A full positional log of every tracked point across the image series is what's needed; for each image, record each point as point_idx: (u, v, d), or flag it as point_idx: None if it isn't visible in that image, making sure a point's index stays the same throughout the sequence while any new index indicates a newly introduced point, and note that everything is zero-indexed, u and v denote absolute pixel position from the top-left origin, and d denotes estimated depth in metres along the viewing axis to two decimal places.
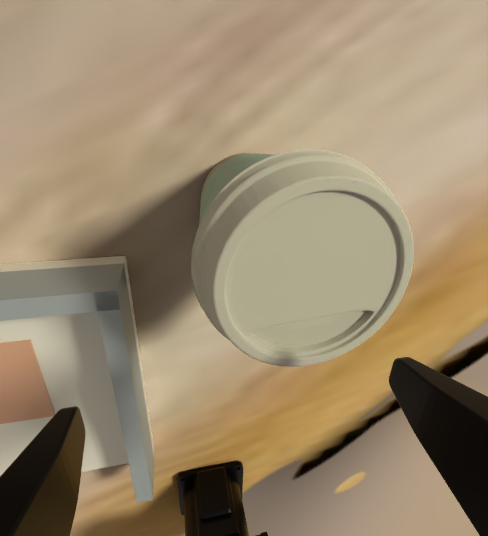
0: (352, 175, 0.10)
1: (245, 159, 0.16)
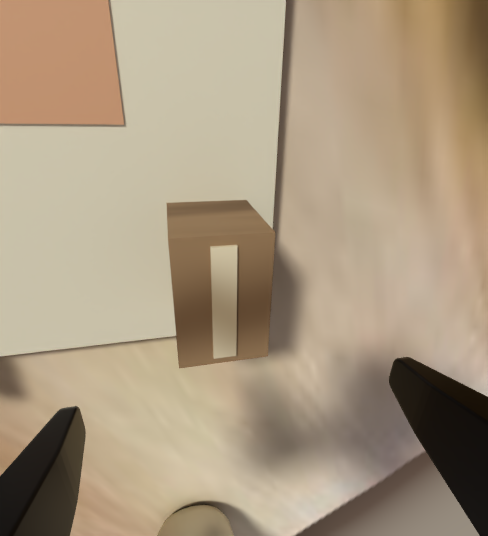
0: None
1: None
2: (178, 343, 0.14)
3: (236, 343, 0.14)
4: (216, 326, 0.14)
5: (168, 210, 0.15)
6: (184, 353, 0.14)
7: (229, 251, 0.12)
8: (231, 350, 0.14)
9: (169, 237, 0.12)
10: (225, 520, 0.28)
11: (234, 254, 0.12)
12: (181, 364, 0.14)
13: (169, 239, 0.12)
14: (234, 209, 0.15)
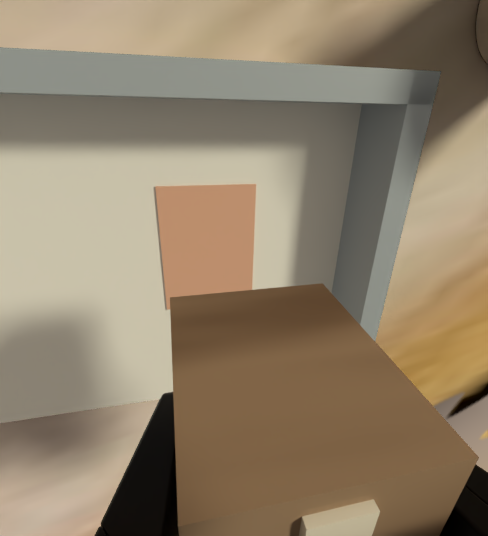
0: None
1: None
2: None
3: None
4: None
5: (174, 330, 0.07)
6: None
7: (355, 525, 0.04)
8: None
9: (182, 514, 0.04)
10: None
11: (368, 528, 0.04)
12: None
13: (183, 528, 0.04)
14: (314, 321, 0.07)
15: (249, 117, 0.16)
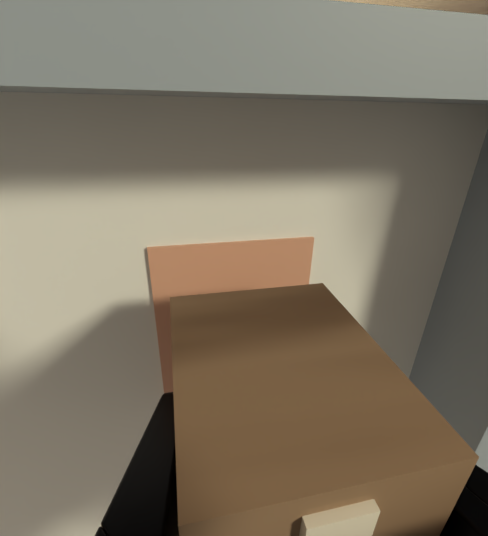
0: None
1: None
2: None
3: None
4: None
5: (174, 330, 0.07)
6: None
7: (356, 525, 0.04)
8: None
9: (183, 514, 0.04)
10: None
11: (368, 527, 0.04)
12: None
13: (183, 528, 0.04)
14: (314, 322, 0.07)
15: (310, 128, 0.09)
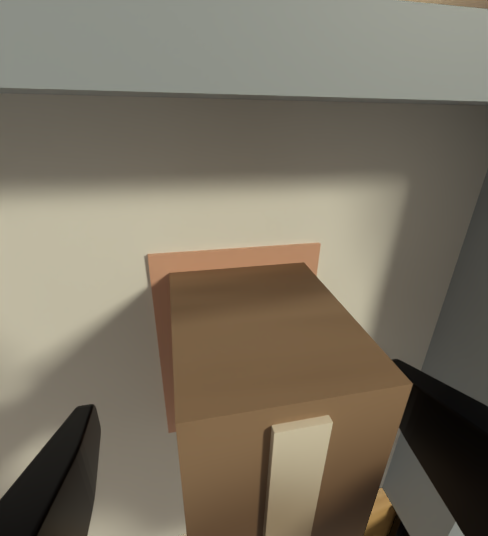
0: None
1: None
2: None
3: None
4: None
5: (173, 297, 0.08)
6: None
7: (314, 433, 0.05)
8: None
9: (178, 417, 0.05)
10: None
11: (324, 438, 0.06)
12: None
13: (179, 425, 0.05)
14: (293, 291, 0.08)
15: (318, 131, 0.09)
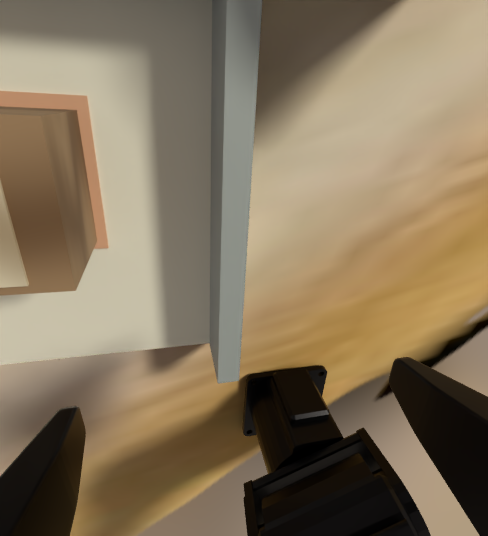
0: None
1: None
2: None
3: (23, 269, 0.12)
4: None
5: None
6: None
7: None
8: (18, 278, 0.12)
9: None
10: None
11: None
12: None
13: None
14: (40, 110, 0.13)
15: (62, 2, 0.13)
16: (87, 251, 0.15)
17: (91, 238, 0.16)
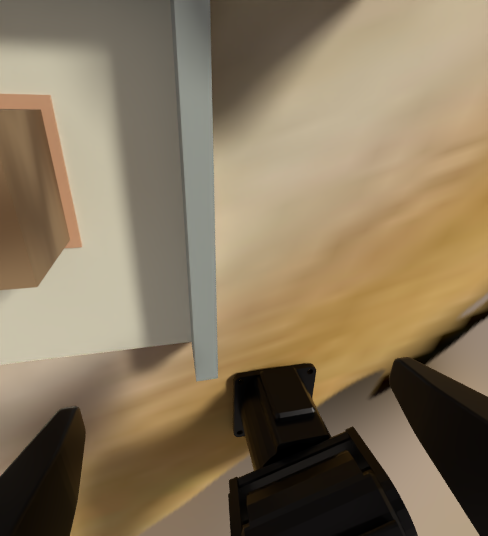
0: None
1: None
2: None
3: None
4: None
5: None
6: None
7: None
8: None
9: None
10: None
11: None
12: None
13: None
14: (0, 109, 0.13)
15: (19, 3, 0.13)
16: (55, 249, 0.15)
17: (61, 237, 0.16)
